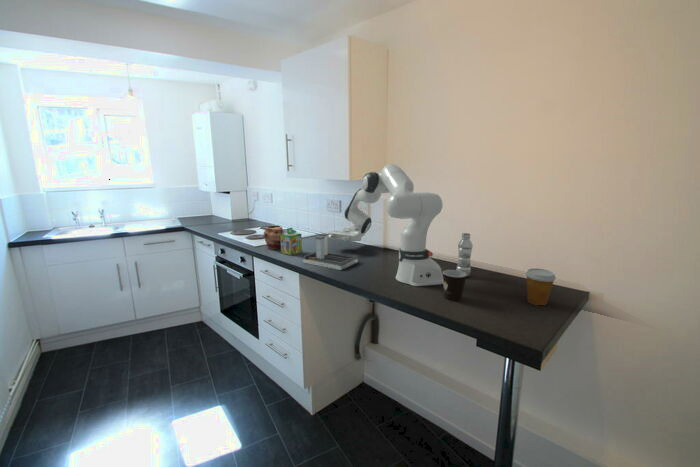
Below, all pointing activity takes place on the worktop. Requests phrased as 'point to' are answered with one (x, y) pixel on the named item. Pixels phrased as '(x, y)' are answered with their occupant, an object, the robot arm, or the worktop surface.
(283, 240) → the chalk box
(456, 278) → the coffee mug
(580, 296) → the worktop surface
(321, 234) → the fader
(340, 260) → the grey rectangular tray
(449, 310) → the worktop surface
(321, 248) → the cylinder
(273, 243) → the decorative planter
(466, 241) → the plastic bottle
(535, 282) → the disposable coffee cup
